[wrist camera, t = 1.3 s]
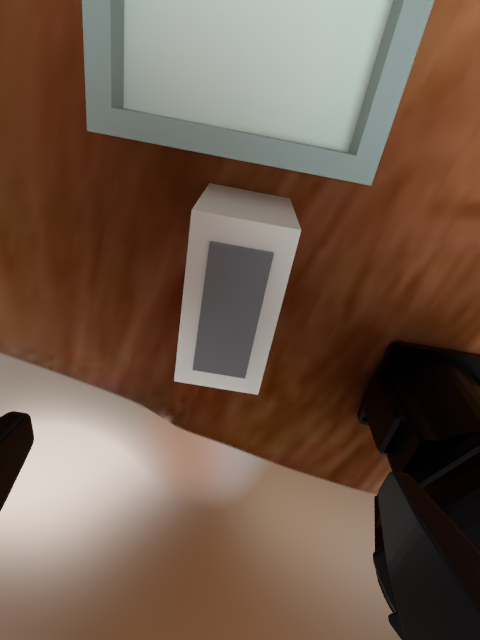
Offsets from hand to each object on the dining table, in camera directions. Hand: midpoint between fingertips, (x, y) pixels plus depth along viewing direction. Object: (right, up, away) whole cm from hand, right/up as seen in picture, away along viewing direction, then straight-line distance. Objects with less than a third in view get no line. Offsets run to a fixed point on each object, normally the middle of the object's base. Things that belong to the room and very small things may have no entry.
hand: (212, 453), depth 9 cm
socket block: (+1, +6, +11) cm, 12 cm away
